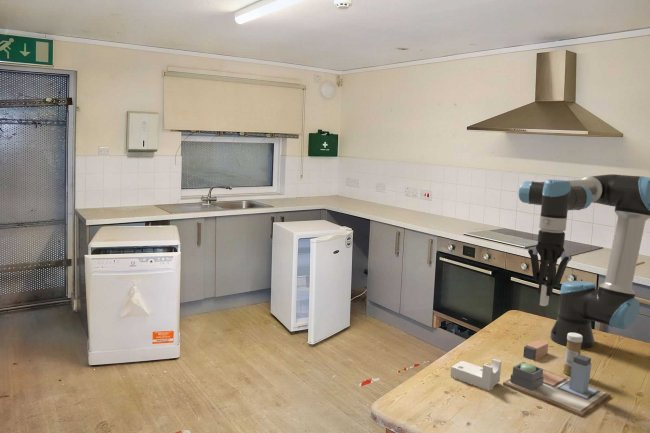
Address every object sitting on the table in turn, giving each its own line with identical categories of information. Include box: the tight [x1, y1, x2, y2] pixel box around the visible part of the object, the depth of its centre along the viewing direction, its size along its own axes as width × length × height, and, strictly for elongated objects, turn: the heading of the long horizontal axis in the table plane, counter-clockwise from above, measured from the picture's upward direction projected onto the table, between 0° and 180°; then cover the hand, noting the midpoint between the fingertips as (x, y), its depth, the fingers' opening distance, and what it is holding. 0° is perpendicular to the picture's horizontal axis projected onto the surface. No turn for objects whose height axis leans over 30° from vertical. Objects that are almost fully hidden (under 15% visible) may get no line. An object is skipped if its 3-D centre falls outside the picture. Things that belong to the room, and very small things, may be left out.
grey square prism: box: [569, 353, 592, 394], centre depth 163 cm, size 4×4×10 cm
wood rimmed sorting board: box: [502, 369, 612, 418], centre depth 165 cm, size 20×24×1 cm
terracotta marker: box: [522, 339, 549, 361], centre depth 192 cm, size 4×4×10 cm
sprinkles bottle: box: [562, 333, 583, 377], centre depth 177 cm, size 5×5×14 cm
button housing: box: [509, 361, 544, 391], centre depth 166 cm, size 7×7×5 cm
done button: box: [520, 362, 537, 373], centre depth 166 cm, size 4×4×3 cm
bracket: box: [449, 358, 502, 392], centre depth 169 cm, size 13×7×8 cm, turn 48°
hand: (543, 304), depth 169 cm, fingers closed
